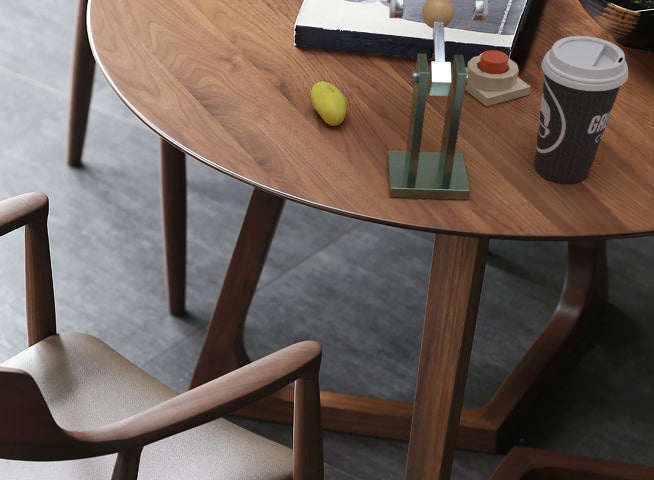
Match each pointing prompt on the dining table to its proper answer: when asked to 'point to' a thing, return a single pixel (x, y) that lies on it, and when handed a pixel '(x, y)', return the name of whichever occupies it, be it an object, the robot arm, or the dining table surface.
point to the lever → (438, 45)
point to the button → (493, 62)
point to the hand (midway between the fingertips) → (438, 17)
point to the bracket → (431, 167)
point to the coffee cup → (576, 105)
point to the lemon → (329, 103)
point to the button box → (494, 83)
